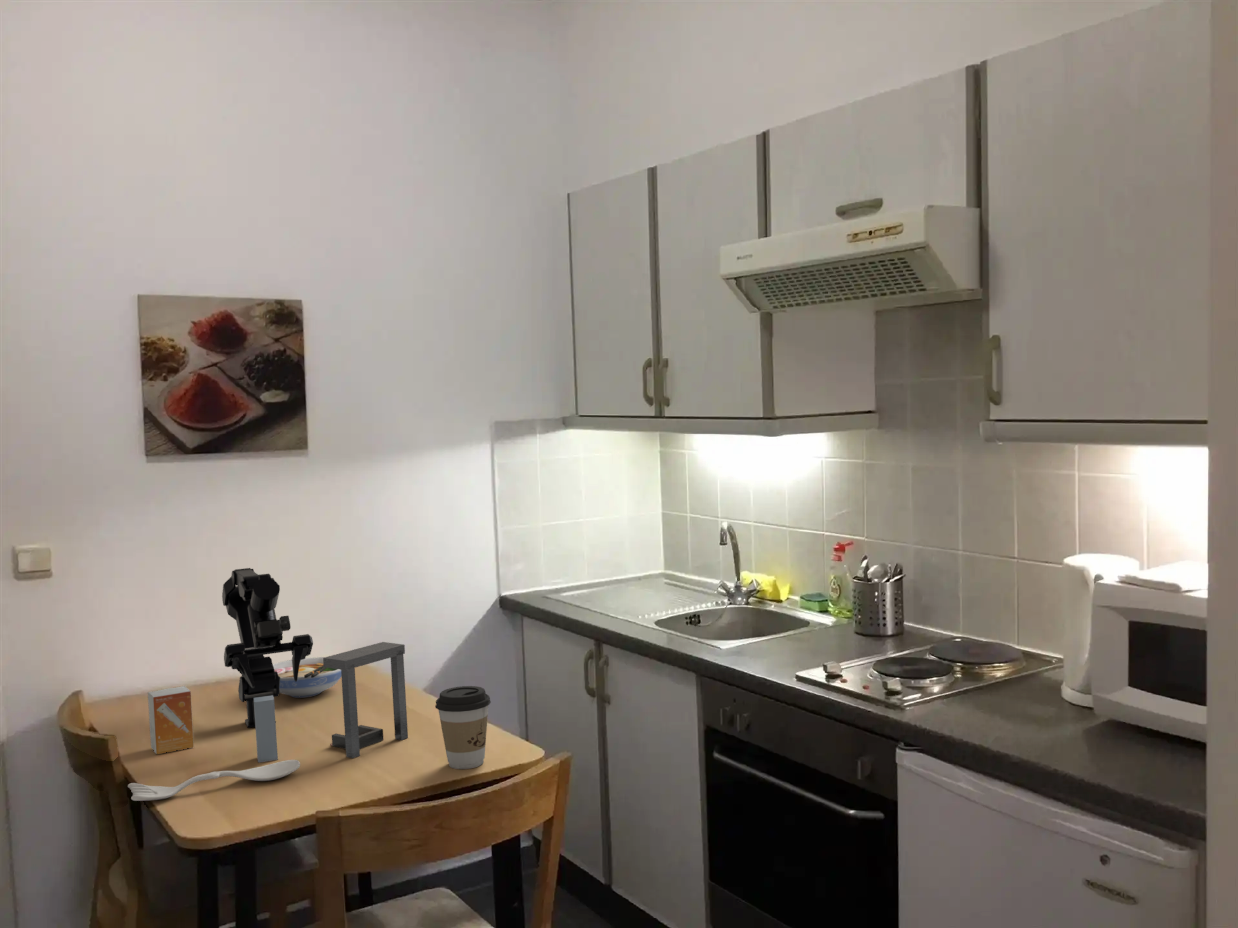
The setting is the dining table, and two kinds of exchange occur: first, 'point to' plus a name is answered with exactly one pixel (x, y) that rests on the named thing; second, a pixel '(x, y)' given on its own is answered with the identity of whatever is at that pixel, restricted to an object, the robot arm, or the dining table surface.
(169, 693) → the small box
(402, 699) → the overhang seat
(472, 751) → the coffee cup
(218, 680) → the dining table surface
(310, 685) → the ramen bowl
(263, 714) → the blue-grey rectangular block
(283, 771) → the spoon
